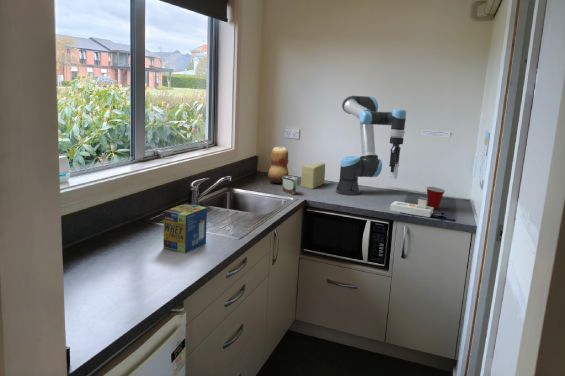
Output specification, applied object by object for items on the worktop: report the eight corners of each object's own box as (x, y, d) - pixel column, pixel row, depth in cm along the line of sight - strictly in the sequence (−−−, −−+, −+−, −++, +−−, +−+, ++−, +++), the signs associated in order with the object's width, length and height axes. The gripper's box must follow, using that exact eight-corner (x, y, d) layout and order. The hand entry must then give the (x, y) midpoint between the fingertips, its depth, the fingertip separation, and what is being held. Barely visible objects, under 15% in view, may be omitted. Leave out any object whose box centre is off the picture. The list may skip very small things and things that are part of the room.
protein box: (162, 248, 185) (162, 210, 182) (185, 238, 199) (186, 202, 196) (184, 254, 181) (185, 215, 178) (206, 242, 195) (207, 206, 191)
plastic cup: (444, 211, 271) (446, 191, 268) (424, 209, 273) (427, 189, 270) (441, 206, 281) (444, 187, 279) (423, 205, 283) (425, 185, 281)
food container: (301, 194, 291) (302, 178, 289) (293, 195, 288) (294, 179, 286) (289, 190, 301) (290, 175, 299) (281, 191, 297) (282, 175, 295)
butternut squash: (271, 185, 312) (273, 148, 307) (265, 181, 324) (267, 145, 319) (291, 185, 317) (293, 148, 312) (283, 181, 329) (286, 145, 324)
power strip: (389, 210, 266) (390, 203, 265) (394, 206, 275) (395, 199, 274) (444, 219, 253) (445, 212, 252) (447, 215, 261) (448, 208, 260)
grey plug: (388, 177, 272) (389, 162, 270) (389, 176, 275) (391, 161, 274) (395, 178, 270) (397, 163, 268) (397, 177, 273) (398, 162, 272)
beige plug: (416, 213, 262) (418, 198, 260) (417, 212, 265) (419, 196, 264) (424, 215, 260) (426, 199, 258) (425, 213, 264) (427, 198, 262)
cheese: (317, 182, 331) (318, 161, 328) (329, 184, 326) (331, 163, 323) (300, 187, 313) (301, 164, 310) (312, 189, 308) (314, 167, 305)
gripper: (399, 138, 259) (395, 180, 264) (406, 136, 274) (402, 176, 278) (386, 137, 263) (382, 178, 267) (394, 135, 277) (390, 174, 282)
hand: (392, 177), depth 273 cm, fingers closed on grey plug, 4 cm apart
